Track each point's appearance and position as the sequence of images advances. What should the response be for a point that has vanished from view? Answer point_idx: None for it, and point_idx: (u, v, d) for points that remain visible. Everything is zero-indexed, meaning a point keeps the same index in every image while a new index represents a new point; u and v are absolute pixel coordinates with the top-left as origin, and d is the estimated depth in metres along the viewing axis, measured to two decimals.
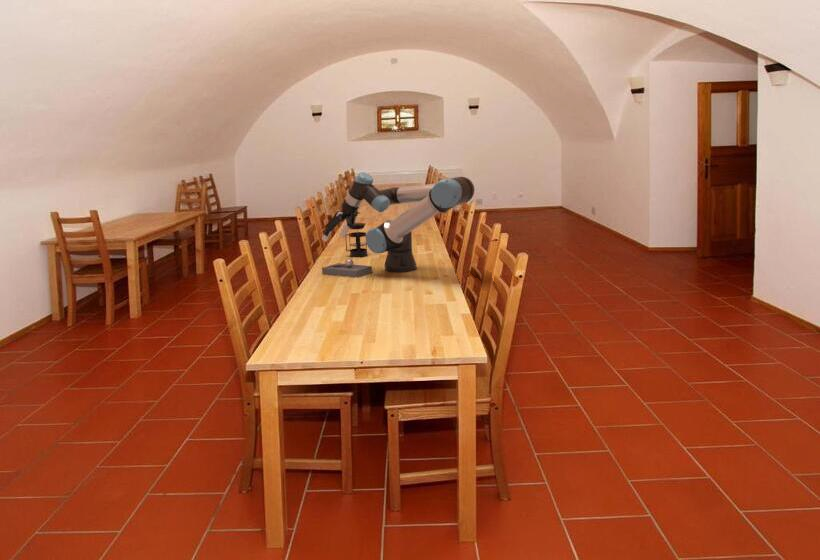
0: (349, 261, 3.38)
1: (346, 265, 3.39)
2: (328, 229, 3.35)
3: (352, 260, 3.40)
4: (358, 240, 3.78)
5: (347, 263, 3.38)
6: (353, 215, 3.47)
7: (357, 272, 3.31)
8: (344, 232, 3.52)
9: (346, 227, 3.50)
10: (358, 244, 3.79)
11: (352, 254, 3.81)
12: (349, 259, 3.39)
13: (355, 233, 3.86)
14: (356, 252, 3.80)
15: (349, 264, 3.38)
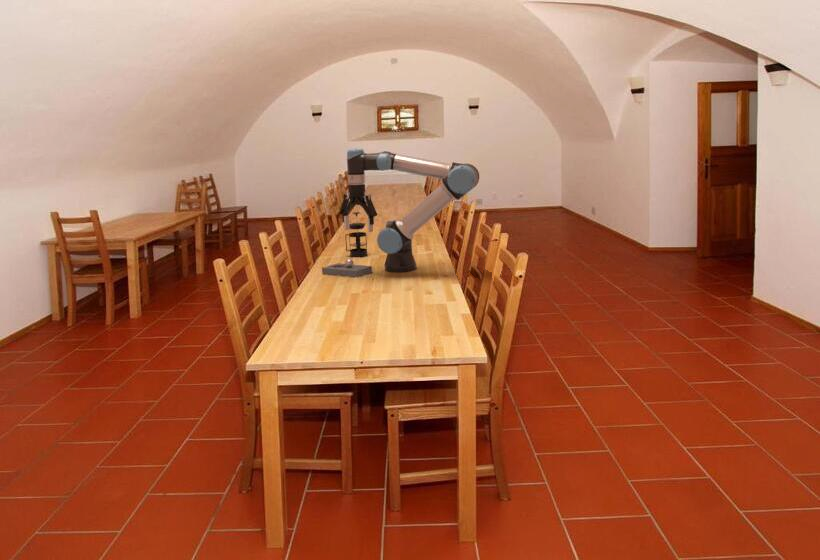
0: (349, 261, 3.38)
1: (346, 265, 3.39)
2: None
3: (352, 260, 3.40)
4: (358, 240, 3.78)
5: (347, 263, 3.38)
6: (347, 201, 3.34)
7: (357, 272, 3.31)
8: (348, 224, 3.37)
9: (347, 217, 3.36)
10: (358, 244, 3.79)
11: (352, 254, 3.81)
12: (349, 259, 3.39)
13: (355, 233, 3.86)
14: (356, 252, 3.80)
15: (349, 264, 3.38)
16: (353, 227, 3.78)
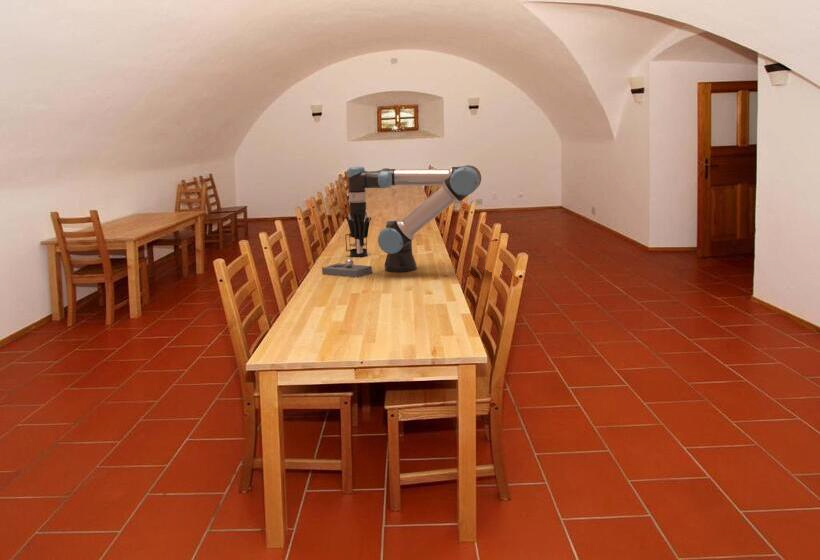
0: (349, 261, 3.38)
1: (346, 265, 3.39)
2: None
3: (352, 260, 3.40)
4: None
5: (347, 263, 3.38)
6: (352, 222, 3.35)
7: (357, 272, 3.31)
8: None
9: None
10: None
11: (352, 254, 3.81)
12: (349, 259, 3.39)
13: None
14: (356, 252, 3.80)
15: (349, 264, 3.38)
16: None
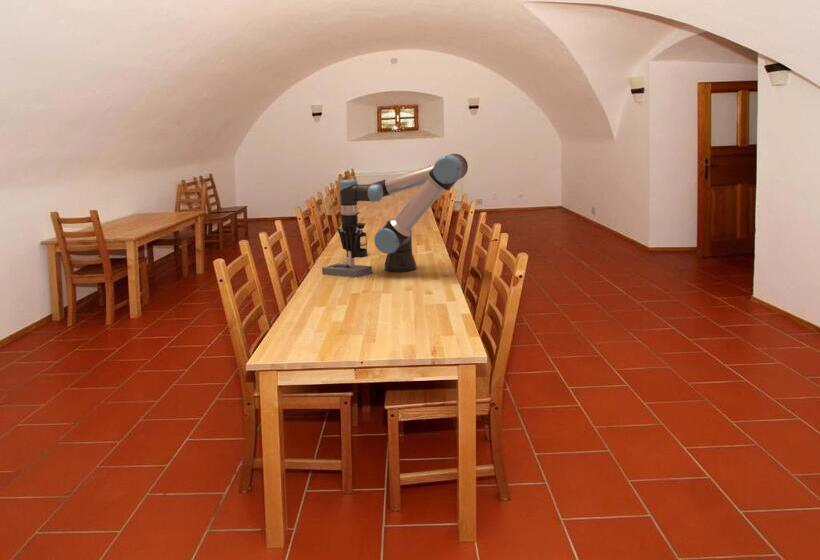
0: (345, 260, 3.39)
1: (345, 265, 3.39)
2: (358, 248, 3.36)
3: None
4: None
5: (344, 262, 3.39)
6: (343, 234, 3.39)
7: (357, 272, 3.31)
8: None
9: None
10: None
11: None
12: (345, 259, 3.40)
13: None
14: (356, 252, 3.80)
15: (347, 262, 3.39)
16: None
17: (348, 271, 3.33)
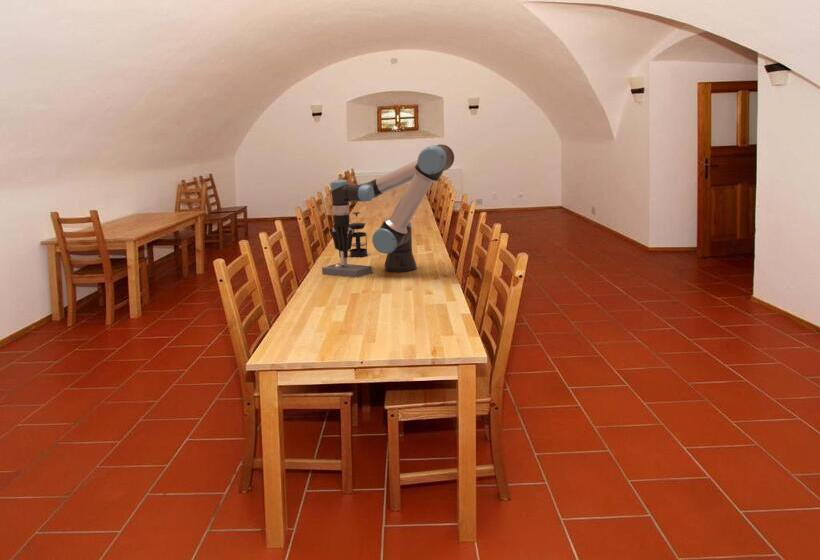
0: None
1: None
2: None
3: None
4: (358, 240, 3.78)
5: None
6: (336, 234, 3.41)
7: (357, 272, 3.31)
8: None
9: None
10: (358, 244, 3.79)
11: (352, 254, 3.81)
12: None
13: (355, 233, 3.86)
14: (356, 252, 3.80)
15: None
16: (353, 227, 3.78)
17: (348, 271, 3.33)
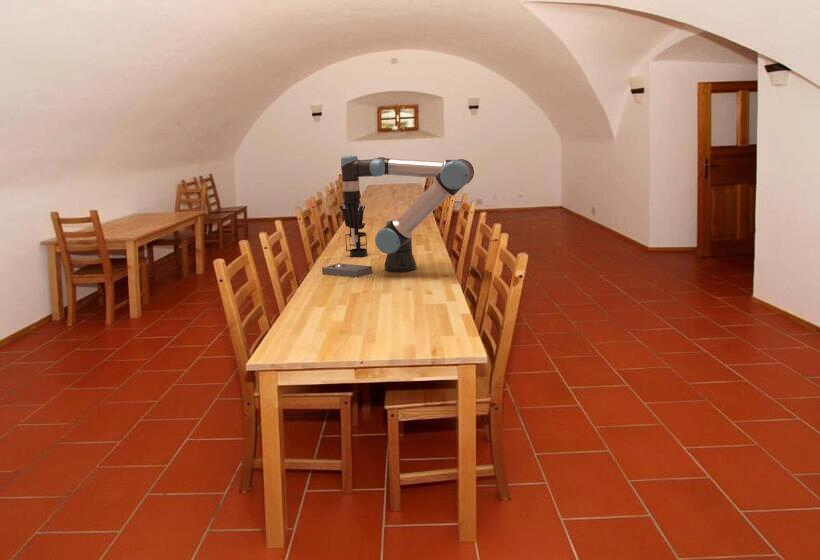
0: None
1: None
2: (361, 225, 3.33)
3: None
4: (358, 240, 3.78)
5: None
6: (346, 211, 3.35)
7: (357, 272, 3.31)
8: None
9: None
10: (358, 244, 3.79)
11: (352, 254, 3.81)
12: None
13: None
14: (356, 252, 3.80)
15: None
16: None
17: (348, 271, 3.33)
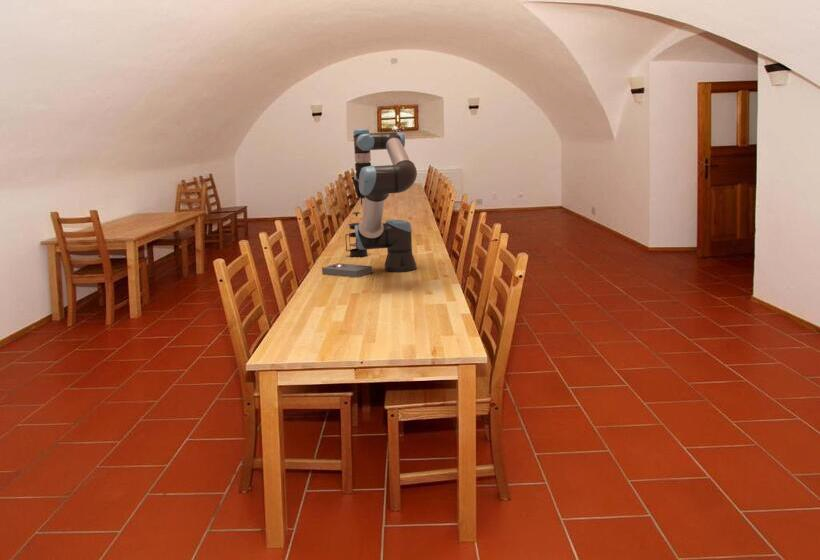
0: None
1: None
2: None
3: None
4: None
5: None
6: (357, 182, 3.53)
7: (357, 272, 3.31)
8: None
9: None
10: None
11: (352, 254, 3.81)
12: None
13: None
14: (356, 252, 3.80)
15: None
16: (353, 227, 3.78)
17: (348, 271, 3.33)
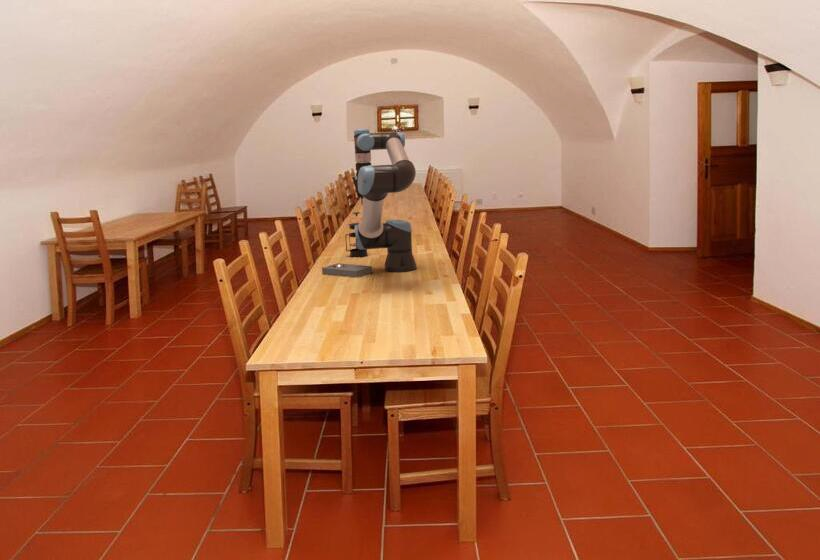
0: None
1: None
2: None
3: None
4: None
5: None
6: (358, 182, 3.53)
7: (357, 272, 3.31)
8: None
9: None
10: None
11: (352, 254, 3.81)
12: None
13: None
14: (356, 252, 3.80)
15: None
16: (353, 227, 3.78)
17: (348, 271, 3.33)
